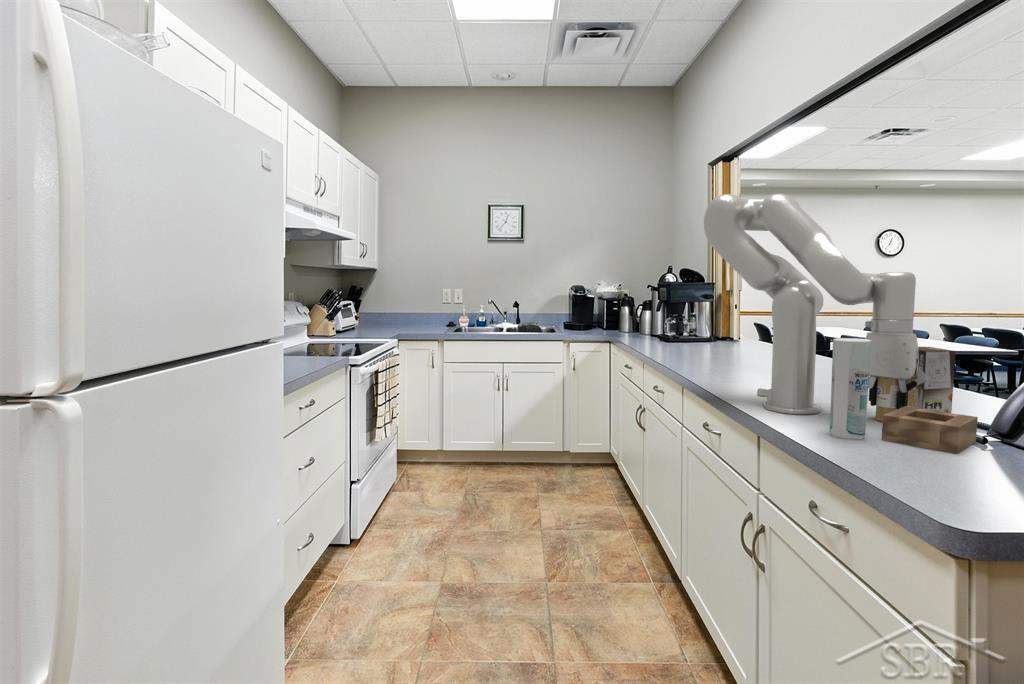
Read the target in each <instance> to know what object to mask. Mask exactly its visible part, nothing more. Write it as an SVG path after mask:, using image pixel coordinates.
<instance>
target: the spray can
mask: <svg viewBox="0 0 1024 684" xmlns="http://www.w3.org/2000/svg"><path fill="white" fill-rule="evenodd" d="M870 352H871V340H868V339H866V338H855V337H854V338H850V337H848V338H847V337H840V338H839V337H838V338H833V340H832V361H831V362H832V364H831V384H830V385H831V390H830V413H829V415H830V416H829V418H830V419H829V434H830V436H833V437H835V436H836V437H837V438H839V437H840V439H844V438H845V439H844V440H863V439H865V438H866V429H867V415H868V414H867V413H868V412H867V411H868V401H869V388H868V384H869V377H870V376H869V368H870Z"/></svg>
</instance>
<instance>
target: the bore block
mask: <svg viewBox="0 0 1024 684" xmlns="http://www.w3.org/2000/svg"><path fill="white" fill-rule="evenodd" d="M978 418H979V416H972V415H965V414H959V413H953V412H951V413H946V412H939V411H932V410H925V409H918V408H911V407H902V408H900V409H897V410H895V411H892V412H890V413H887V414H885V415H883V421H882V422H881V423H882V425H881V428H882V429H881V440H883V441H888V442H893V443H897V444H898V443H899V444H903V445H909V446H913V447H919V448H923V449H924V448H925V449H930V450H935V451H939V452H944V453H951V454H956V455H959V453H961V452H963V451H964V450H966V449H968V448H969V447H970V446H972V445H973V444H975V443H976V442H977V432H978Z"/></svg>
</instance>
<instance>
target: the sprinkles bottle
mask: <svg viewBox="0 0 1024 684" xmlns="http://www.w3.org/2000/svg"><path fill="white" fill-rule="evenodd" d="M899 390H900V386H899V382H898V379H892V378H883V377H878V386H877V397H876V405H875V406H876V407H875V416H874V419H875V420H877V421H880V422H883V415H885V414H887V413H890V412H892V411H895V410H897V409H896V404H897V393H898V392H899Z"/></svg>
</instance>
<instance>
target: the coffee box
mask: <svg viewBox="0 0 1024 684" xmlns="http://www.w3.org/2000/svg"><path fill="white" fill-rule="evenodd" d="M918 351H919V366H920V368H921V369H922V370H923V372H924V373H925V374H926V376H927V377H928V379H929V380H928V381H926V382H924V383H922V384H919V385H917V386H916V387H914V388H913V389H911V390H910V391H908V404H907V406H905V407H911V408H918V409H925V410H932V411H939V412H946V413H953V412H952V410H953V409H952V407H953V394H954V378H955V377H954V376H955V365H956V364H955V363H956V350H950V349H945V348H939V347H933V346H918ZM916 379H917V376H916V377H911V378H910V379H909V381H910V382H911V381H914V380H916Z"/></svg>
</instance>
